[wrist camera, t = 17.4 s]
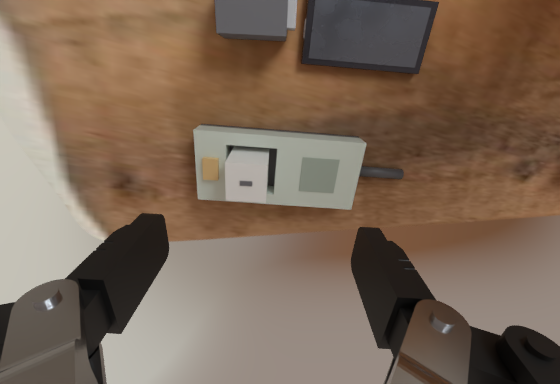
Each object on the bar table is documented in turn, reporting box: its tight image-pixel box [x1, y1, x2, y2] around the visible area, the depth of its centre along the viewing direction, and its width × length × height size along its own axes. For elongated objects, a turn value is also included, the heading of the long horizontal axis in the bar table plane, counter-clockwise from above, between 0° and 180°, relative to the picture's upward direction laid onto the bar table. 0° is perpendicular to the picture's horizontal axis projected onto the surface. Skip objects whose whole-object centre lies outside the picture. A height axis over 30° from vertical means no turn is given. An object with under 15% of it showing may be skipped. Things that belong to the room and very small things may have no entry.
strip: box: [193, 124, 404, 210], centre depth 29 cm, size 24×8×4 cm, turn 85°
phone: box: [301, 0, 439, 74], centre depth 25 cm, size 12×6×1 cm, turn 85°
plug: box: [215, 0, 297, 41], centre depth 23 cm, size 7×4×4 cm, turn 88°
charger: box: [225, 145, 270, 203], centre depth 27 cm, size 4×4×6 cm
